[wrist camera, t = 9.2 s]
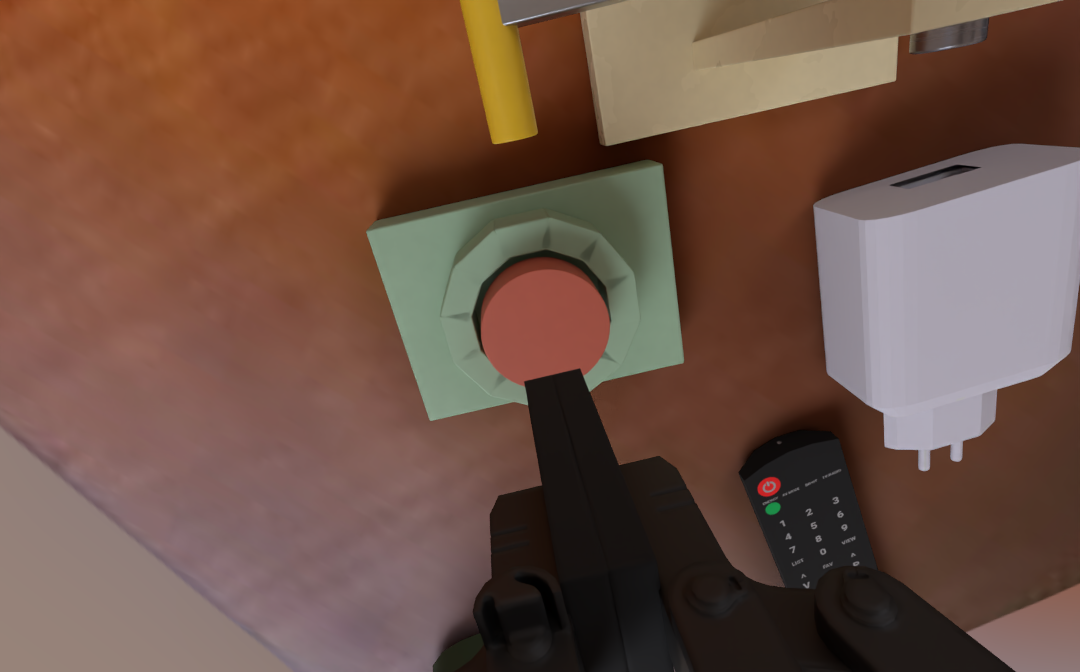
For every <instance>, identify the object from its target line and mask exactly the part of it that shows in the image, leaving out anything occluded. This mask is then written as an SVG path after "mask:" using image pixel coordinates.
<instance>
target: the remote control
mask: <svg viewBox="0 0 1080 672" xmlns="http://www.w3.org/2000/svg"><path fill="white" fill-rule="evenodd" d="M739 475H740V478H741V480H742V483H743V485H744V487H745V490H746V492H747V495H748V497H749V500H750V502H751V505H752V507H753V509H754V512H755V514H756V517H757V519H758V522H759V524H760V526H761V529H762V531H763V534H764V536H765V539H766V541H767V544H768V546H769V548H770V551H771V553H772V556H773V558H774V561H775V563H776V566H777V568H778V570H779V573H780V575H781V578H782V580H783V583H784V585H785V587H786V588H803V589H816V586H817V582H818V579H819V578H821V577H822V576H823V575H824V574H825V573H826V572H828V571H829V570H831V569H835V568H838V567H842V566H865V567H868V568H871V569H875V570H878V568H877V565H876V562H875V558H874V555H873V552H872V548H871V545H870V542H869V538H868V535H867V532H866V528H865V525H864V522H863V518H862V515H861V512H860V508H859V505H858V502H857V498H856V495H855V492H854V488H853V485H852V482H851V478H850V475H849V472H848V468H847V465H846V462H845V458H844V455H843V452H842V448H841V445H840V442H839V439H838V438H837V437H836V436H835V435H834V434H833V433H832V432H831V431H807V430H799V431H795V432H792V433H789V434H786V435H782V436H779V437H776V438H774V439H772V440H771V441H769V442H767V443H766V444H764V445H763V446H761V447H759V448H758V449H756V450H754V452H753V453H752V454H751V456H750V457H749V459H748V460H747V461H746V463H745V464H744V466H743V467H742V468H741V470H740V471H739Z"/></svg>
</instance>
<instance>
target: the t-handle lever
mask: <svg viewBox="0 0 1080 672" xmlns="http://www.w3.org/2000/svg"><path fill="white" fill-rule="evenodd" d="M625 1H629V0H460V4H461V8H462V13H463V17H464V21H465V26H466V30H467V34H468V39H469V43H470V48H471V52H472V56H473V61H474V65H475V70H476V74H477V78H478V83H479V87H480V92H481V96H482V100H483V105H484V109H485V114H486V118H487V122H488V127H489V131H490V136H491V140H492V143H493V144H500V143H506V142H511V141H516V140H520V139H524V138H528V137H532V136H535V135H536V134H538V129H537V124H536V119H535V114H534V109H533V104H532V98H531V93H530V88H529V83H528V78H527V73H526V67H525V62H524V57H523V52H522V47H521V42H520V36H519V31H518V28H519V27H523V26H527V25H531V24H535V23H539V22H544V21H548V20H552V19H556V18H560V17H564V16H568V15H572V14H576V13H580V12H584V11H588V10H592V9H596V8H600V7H604V6H608V5H612V4H616V3H620V2H625Z"/></svg>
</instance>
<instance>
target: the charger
mask: <svg viewBox="0 0 1080 672" xmlns="http://www.w3.org/2000/svg"><path fill="white" fill-rule="evenodd" d="M813 208H814V220H815V233H816V245H817V257H818V270H819V282H820V295H821V307H822V320H823V332H824V344H825V357H826V369H827V373H828V375H829V376H831V377H832V378H833V379H835V380H836V381H837V382H838V383H840V384H841V385H842V386H844V387H845V388H846V389H847V390H849V391H850V392H851V393H853V394H854V395H855V396H856V397H858V398H859V399H860V400H862V401H863V402H864V403H866V404H867V405H869V406H871V407H873V408H875V409H877V410H878V411H880V412H882V413H884V441H885V447H887V448H892V449H896V450H918V468H919V469H920V470H922V471H927V470H928V469H930V450H933V449H937V448H940V447H943V446H947V445H950V444H951V454H950V459H951V460H953V461H960V460H961V459H962V448H963V441H964V440H967V439H970V438H974V437H977V436H980V435H981V434H982V433H983V432H984V431H985V430H986V429H987V428H988V427H989V426H990V425H991V424H992V423H993V422H994V421H995V413H996V398H997V389H1000V388H1003V387H1006V386H1010V385H1013V384H1016V383H1020V382H1023V381H1027V380H1030V379H1033V378H1036V377H1039V376H1041V375H1043V374H1044V373H1045V372H1047V371H1048V370H1049V369H1051V368H1052V367H1053V366H1054V365H1056V364H1057V363H1058V362H1060V361H1061V360H1062V359H1063V358H1065V357H1066V356H1067V355H1068V354H1069V353H1070V352H1071V345H1072V337H1073V329H1074V321H1075V314H1076V306H1077V298H1078V290H1079V282H1080V148H1076V147H1061V146H1046V145H1032V144H1008V145H1001V146H995V147H990V148H986V149H982V150H978V151H974V152H970V153H967V154H963V155H960V156H957V157H954V158H951V159H947V160H944V161H941V162H938V163H934V164H931V165H928V166H925V167H921V168H918V169H915V170H912V171H908V172H905V173H902V174H899V175H895V176H892V177H889V178H886V179H882V180H879V181H876V182H873V183H869V184H866V185H863V186H860V187H856V188H853V189H850V190H847V191H843V192H840V193H837V194H834V195H831V196H829V197H826V198H824V199H821V200H820V201H818V202H816V203H815V204H814V205H813Z"/></svg>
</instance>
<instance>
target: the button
mask: <svg viewBox="0 0 1080 672" xmlns="http://www.w3.org/2000/svg"><path fill="white" fill-rule="evenodd" d="M609 334H610V318H609V313H608V309H607V307H606V304H605V302H604V300H603V298H602V297H601V295H600V293H599V292H598V290H597V289H596V287H595V285H594V284H593V282H592V281H591V280H590V278H589V277H588V276H587V275H586V274H585V273H584V272H583V271H582V270H581V269H579V268H578V267H577V266H575V265H573V264H571V263H569V262H567V261H564V260H562V259H558V258H553V257H534V258H529V259H525V260H522V261H519V262H517V263H515V264H513V265H511V266H509V267H508V268H506V269H505V270H504V271H503V272H501V273H500V274H499V275H498V276H497V277H496V278H495V279H494V281H493V282H492V283H491V285H490V286H489V288H488V290H487V292H486V294H485V297H484V299H483V303H482V308H481V339H482V344H483V348H484V351H485V354H486V356H487V357H488V359H489V361H490V362H491V364H492V365H493V367H494V368H495V369H496V370H497V371H498V372H499V373H500V374H501V375H503V376H504V377H505V378H507V379H508V380H510V381H512V382H514V383H516V384H518V385H521V386H524V387H525V384H524V381H527V380H532V379H536V378H540V377H544V376H549V375H553V374H557V373H562V372H566V371H570V370H574V369H579V368H580V369H581V372H582V374H583V376H584V375H585V374H587V373H588V372H589V371H590V370H591V369H592V368H593V367H594V366H595V365H596V364H597V362H598V361H599V359H600V358H601V356H602V355H603V353H604V351H605V349H606V346H607V343H608V339H609Z"/></svg>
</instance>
